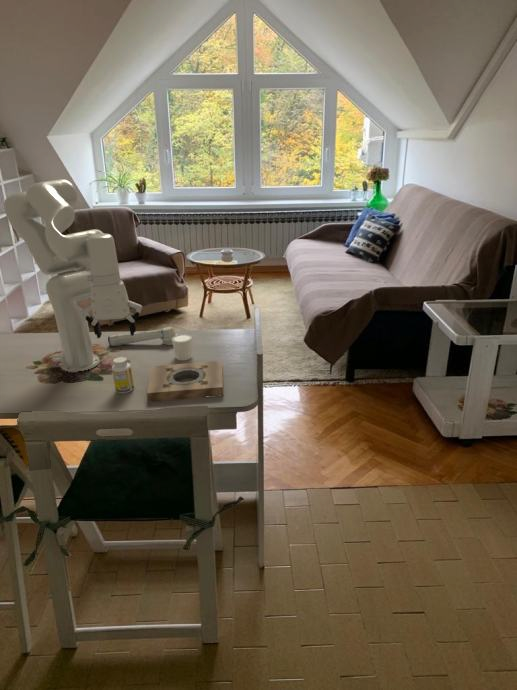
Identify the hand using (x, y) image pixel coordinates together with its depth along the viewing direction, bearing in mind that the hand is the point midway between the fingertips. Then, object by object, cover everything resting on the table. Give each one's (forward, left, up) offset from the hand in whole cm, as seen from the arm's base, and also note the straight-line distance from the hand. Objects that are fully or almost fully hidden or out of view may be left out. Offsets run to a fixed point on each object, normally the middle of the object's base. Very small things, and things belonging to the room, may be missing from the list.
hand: (116, 335), depth 161 cm
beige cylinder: (+17, +21, -18) cm, 33 cm away
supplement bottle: (0, 0, -18) cm, 18 cm away
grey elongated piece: (+2, +35, -19) cm, 40 cm away
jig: (+19, 0, -18) cm, 26 cm away
